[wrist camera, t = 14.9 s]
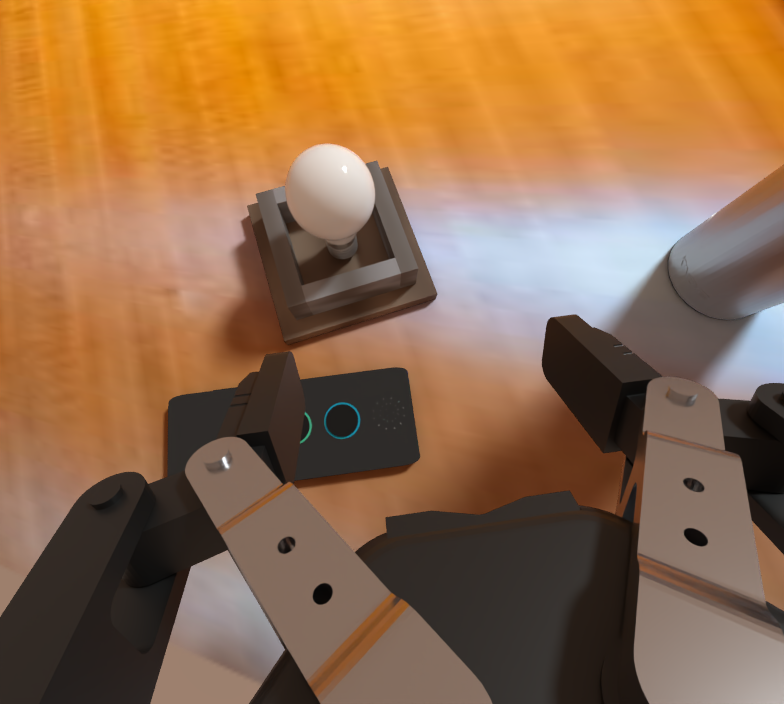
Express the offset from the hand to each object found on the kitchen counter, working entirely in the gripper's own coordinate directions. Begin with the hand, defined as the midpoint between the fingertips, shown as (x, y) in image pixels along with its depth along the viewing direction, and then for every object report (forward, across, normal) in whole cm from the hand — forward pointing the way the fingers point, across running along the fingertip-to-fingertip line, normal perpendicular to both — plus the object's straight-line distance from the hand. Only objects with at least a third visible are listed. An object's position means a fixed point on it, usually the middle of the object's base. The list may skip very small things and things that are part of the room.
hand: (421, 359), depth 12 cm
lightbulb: (+25, +3, +3) cm, 26 cm away
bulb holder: (+26, +4, +4) cm, 26 cm away
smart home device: (+15, +9, +15) cm, 23 cm away
